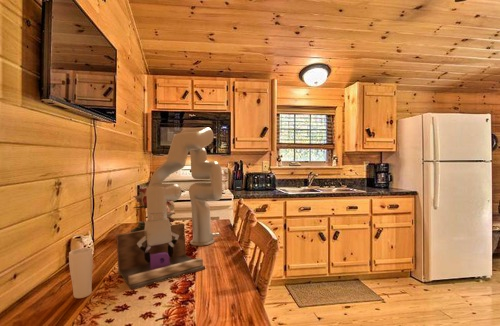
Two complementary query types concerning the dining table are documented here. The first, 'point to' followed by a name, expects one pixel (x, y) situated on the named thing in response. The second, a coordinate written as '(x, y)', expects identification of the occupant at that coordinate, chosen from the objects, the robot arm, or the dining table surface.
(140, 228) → the rose bouquet
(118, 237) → the stand
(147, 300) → the dining table surface
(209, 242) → the robot arm
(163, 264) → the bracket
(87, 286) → the white cup
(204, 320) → the dining table surface
